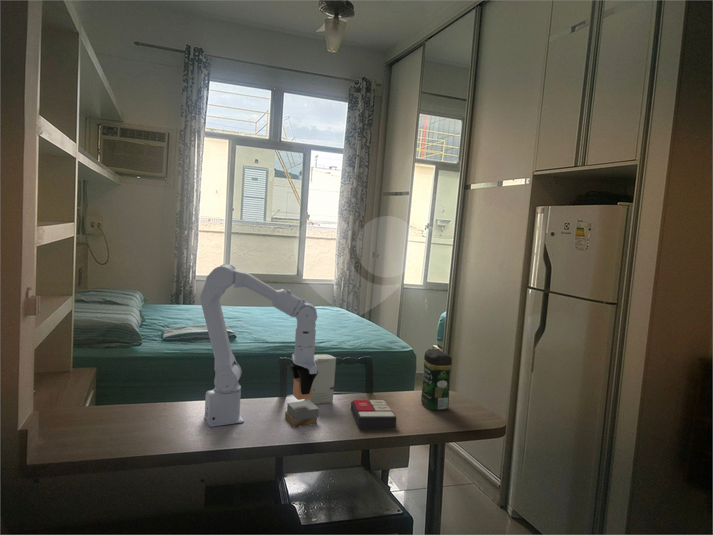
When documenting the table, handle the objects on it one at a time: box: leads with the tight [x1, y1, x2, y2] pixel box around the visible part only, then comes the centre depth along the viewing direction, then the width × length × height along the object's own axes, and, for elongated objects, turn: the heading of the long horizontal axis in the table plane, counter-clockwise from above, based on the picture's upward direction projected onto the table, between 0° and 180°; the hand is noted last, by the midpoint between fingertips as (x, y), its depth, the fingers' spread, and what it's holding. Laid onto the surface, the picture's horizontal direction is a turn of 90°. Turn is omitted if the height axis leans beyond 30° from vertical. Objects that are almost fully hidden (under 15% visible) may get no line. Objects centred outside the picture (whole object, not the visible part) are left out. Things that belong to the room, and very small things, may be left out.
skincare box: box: [304, 354, 337, 405], centre depth 154 cm, size 8×6×15 cm
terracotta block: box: [292, 377, 312, 401], centre depth 137 cm, size 4×4×5 cm
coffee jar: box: [420, 348, 453, 412], centre depth 155 cm, size 10×8×19 cm
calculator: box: [350, 399, 397, 430], centre depth 142 cm, size 11×4×15 cm
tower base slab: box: [284, 410, 318, 428], centre depth 137 cm, size 7×7×2 cm
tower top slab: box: [286, 400, 320, 420], centre depth 137 cm, size 7×7×2 cm
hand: (302, 391), depth 137 cm, fingers closed on terracotta block, 4 cm apart
